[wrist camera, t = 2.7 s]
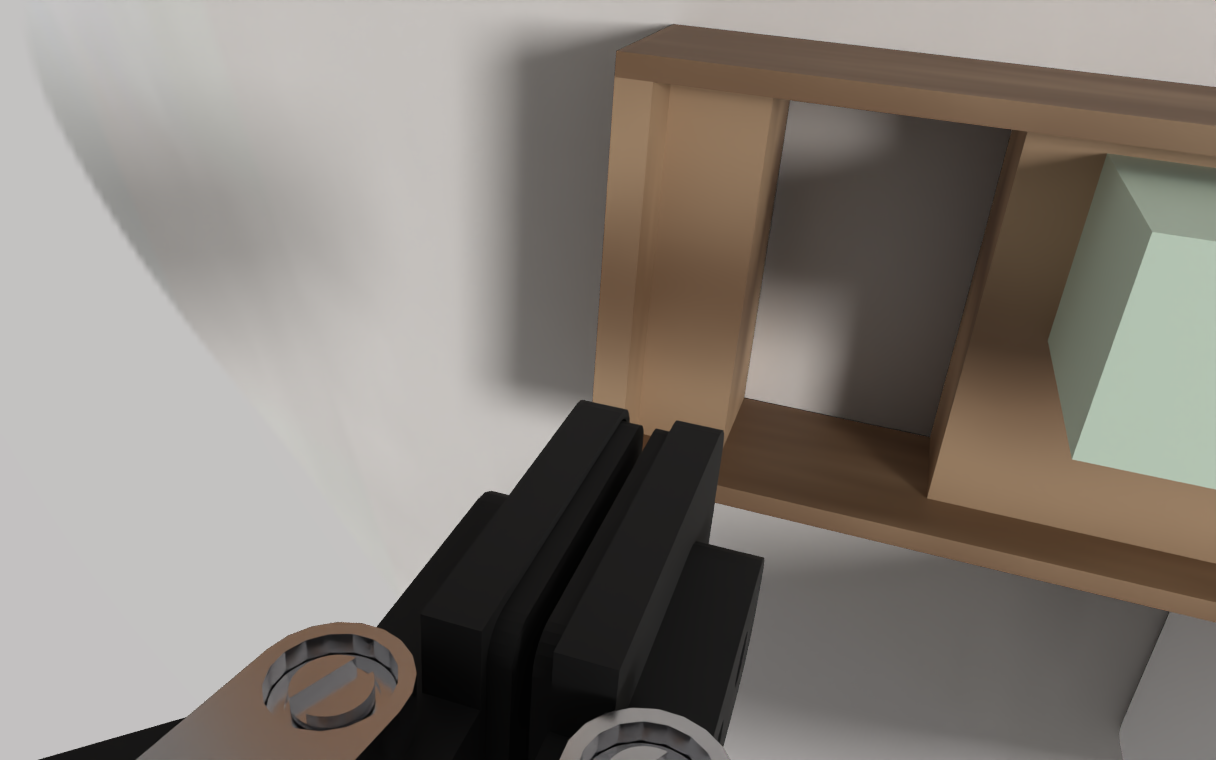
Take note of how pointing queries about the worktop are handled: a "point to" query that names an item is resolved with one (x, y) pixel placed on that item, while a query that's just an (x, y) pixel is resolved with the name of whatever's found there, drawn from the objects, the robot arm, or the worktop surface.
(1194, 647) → the milk carton
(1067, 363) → the block
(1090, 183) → the box
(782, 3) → the worktop surface
